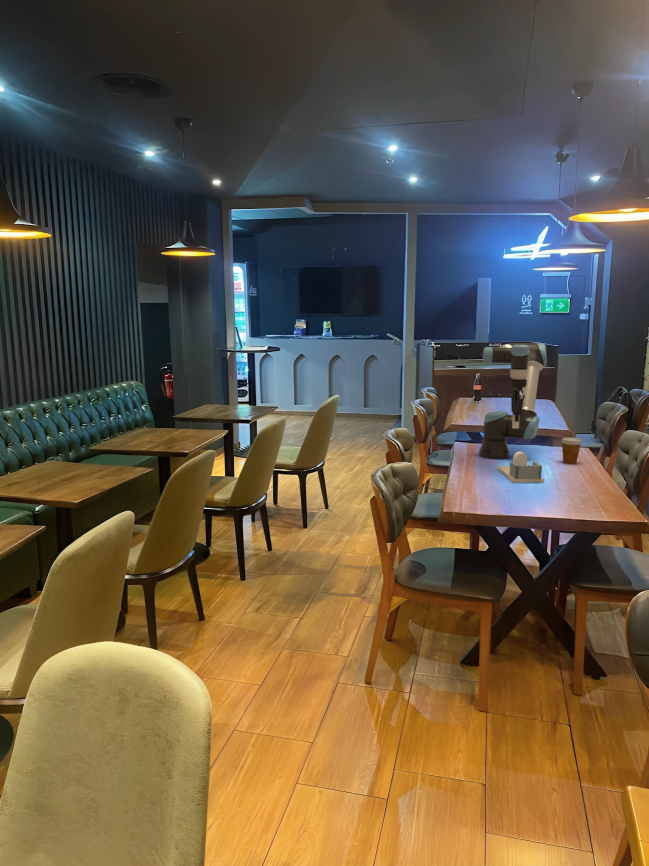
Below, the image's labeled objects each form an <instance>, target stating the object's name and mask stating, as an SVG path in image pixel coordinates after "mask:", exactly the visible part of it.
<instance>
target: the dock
mask: <svg viewBox="0 0 649 866" xmlns="http://www.w3.org/2000/svg"><path fill="white" fill-rule="evenodd" d="M509 462H510V463H509V466H508V465H506V466H505V465H502V466H501V465H498V466H497V470H498V471H499V472H500V473H501V474H502V475H503V474H504V475H503V476H505V477H506V478H507V479H508V480H509V481H510V482H511V481H512V482H511V483H544V481H545V479H544V478H543V477H542V469H543V468H542V467H543V465H541V464H540V463H538V462H537V461H535V460H534V461H533V460H532V464H530V465H528V464H527V465H517V464H516V463H514V462H513V461H509Z"/></svg>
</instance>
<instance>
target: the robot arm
mask: <svg viewBox="0 0 649 866" xmlns="http://www.w3.org/2000/svg"><path fill="white" fill-rule="evenodd" d="M546 347H547V346H546V344H545V343H540V342H536V343H535V342H511V343H506V344H505V343H504V344H502V345H500V346H486V347H483V352H482V361H483V362H484V363H489V364H510V370H509V374H510V375H509V377H510V379H509V386H510V387H511V388H512V391H510V397H511V398H510V399H511V400H510V402H511V404H510V406H511V408H510V411H511V413H512V414H509V412H508V411H506V410H504V411H503V410H497V411H496V410H495V411H490V412H487V413H485V414H484V418H483V419H484V420H483V437H482V442H481V444H480V445H481V446H480V448H479V450H478V455H479V457H482V456H483V457H482V458H485V457H486V458H487V459H492V458H494V459H495V460H501V458H503V459H507V458H506V457H508V456H509V457H510V450H509V447H508V443H507V438H513V439H523V440H526V439H527V440H532V439H534V438H535V437H536V436H537V433H538V429H539V424H540V417H539V416H537V412H536V411H535V408H536V407H535V406H536V400H537V399H536V398H537V392H538V384H539V378H540V377H539V376H540V371H542V370H543V368H544V367H545V366H547V363H548V361H547V348H546ZM509 457H508V458H509ZM486 458H485V459H486Z"/></svg>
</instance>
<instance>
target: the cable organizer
mask: <svg viewBox="0 0 649 866" xmlns="http://www.w3.org/2000/svg"><path fill="white" fill-rule="evenodd" d="M512 459H513V462H514V463H516V464H517V465H528V456H527V455H526V453H524V452H523V451H516V452H515V453H514V455H513V458H512Z"/></svg>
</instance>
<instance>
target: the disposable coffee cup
mask: <svg viewBox="0 0 649 866" xmlns="http://www.w3.org/2000/svg"><path fill="white" fill-rule="evenodd" d="M560 442H561V447H562V450H561V451H562V462H563V464H567V463H568V464H567V465H575V464H577V463H578V458H579V454H580V450H581V444H582V443H583V442H582V440H581V438H577V437H569V436H568V437H562V439H561V440H560Z"/></svg>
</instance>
